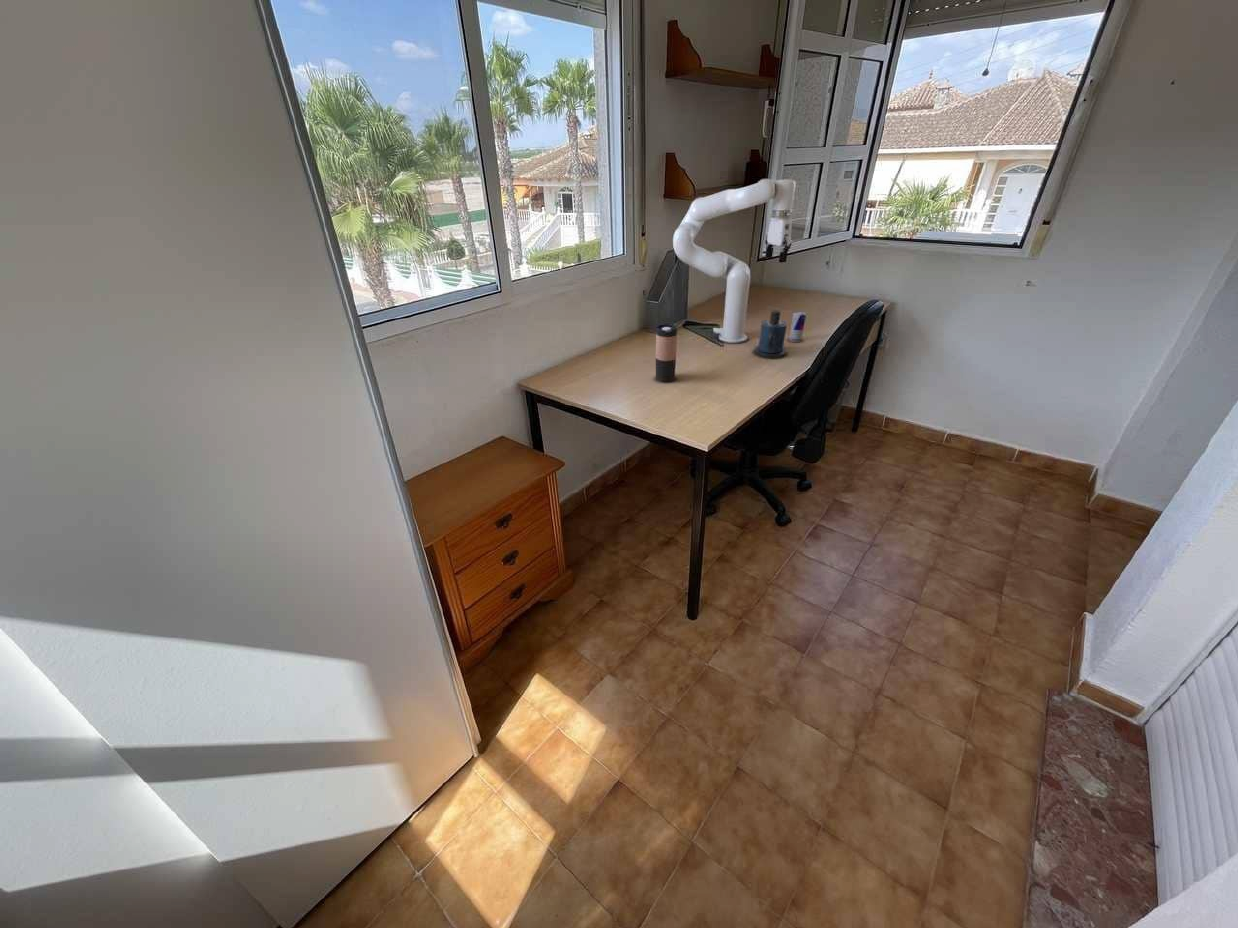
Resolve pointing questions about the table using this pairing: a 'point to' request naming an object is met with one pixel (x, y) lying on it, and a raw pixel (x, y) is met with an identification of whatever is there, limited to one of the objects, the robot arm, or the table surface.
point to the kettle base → (769, 355)
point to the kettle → (772, 334)
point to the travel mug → (666, 352)
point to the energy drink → (797, 326)
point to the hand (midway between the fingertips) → (775, 260)
